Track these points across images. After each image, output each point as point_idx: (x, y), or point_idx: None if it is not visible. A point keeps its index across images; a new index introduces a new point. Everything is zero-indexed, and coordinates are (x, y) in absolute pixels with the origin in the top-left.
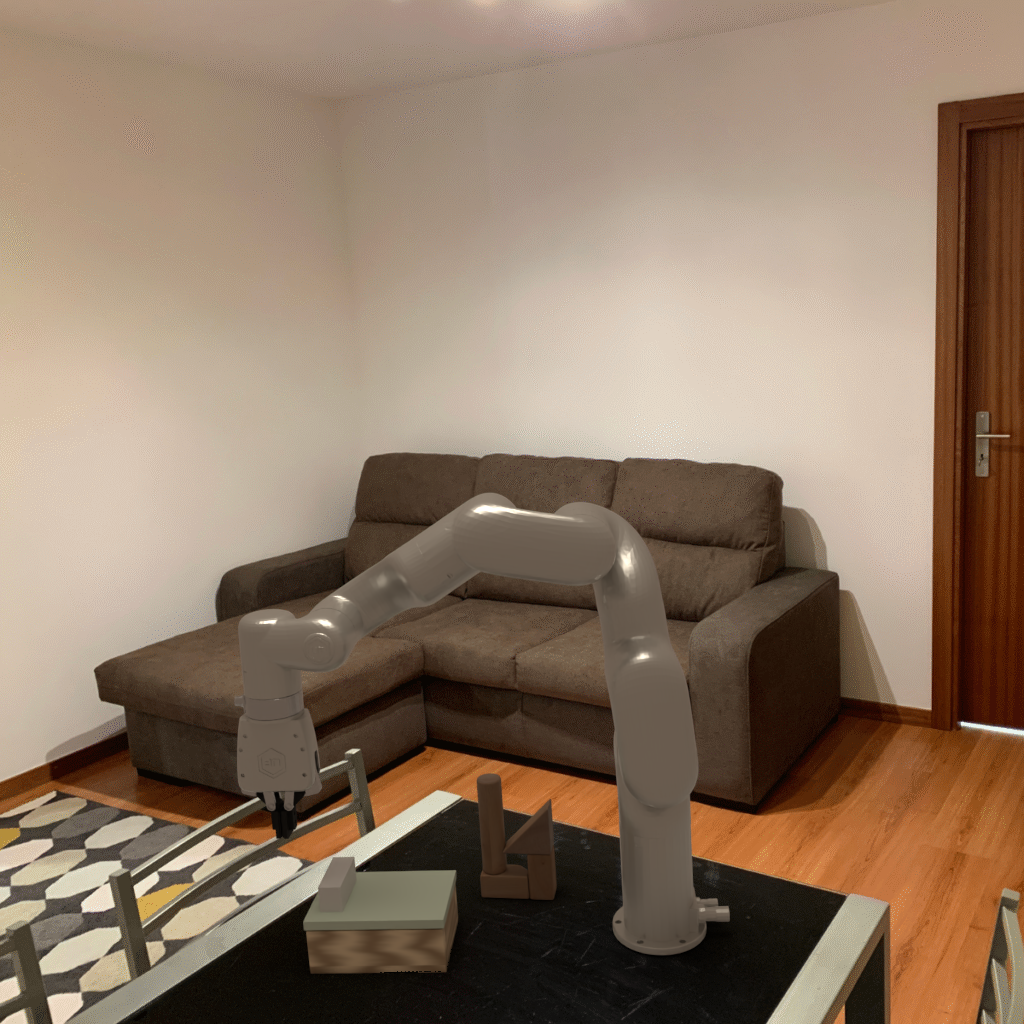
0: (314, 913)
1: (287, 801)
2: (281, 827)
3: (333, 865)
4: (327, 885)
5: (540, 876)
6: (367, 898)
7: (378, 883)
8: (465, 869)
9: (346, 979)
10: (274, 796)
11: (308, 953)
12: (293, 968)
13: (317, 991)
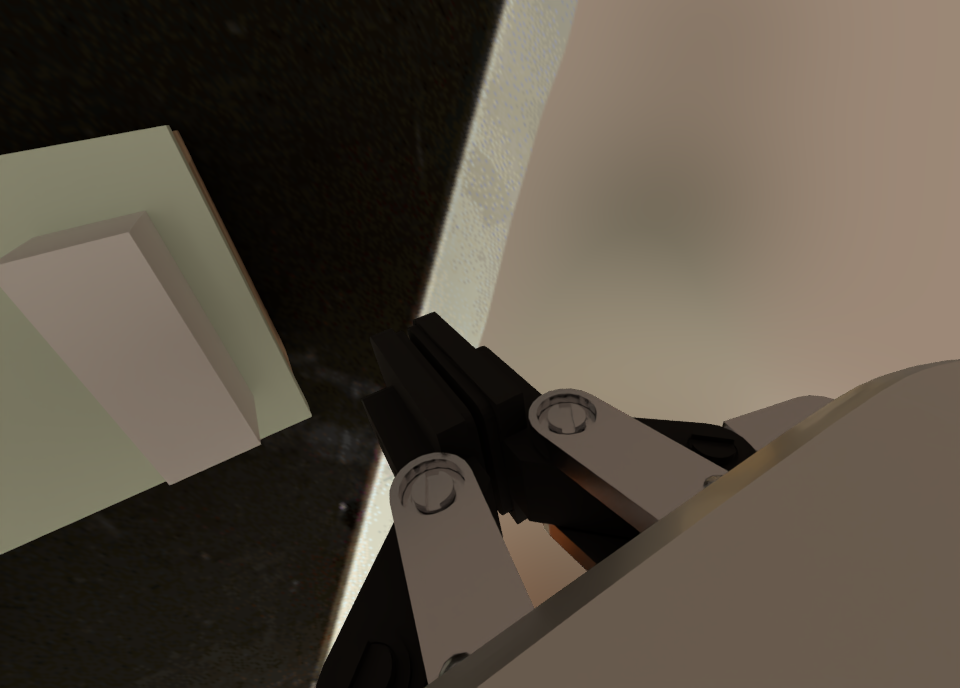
0: (165, 196)
1: (459, 520)
2: (432, 362)
3: (211, 405)
4: (88, 263)
5: None
6: (4, 356)
7: (60, 448)
8: (101, 630)
9: (17, 121)
10: (599, 497)
11: (173, 131)
12: (251, 146)
13: (72, 36)
